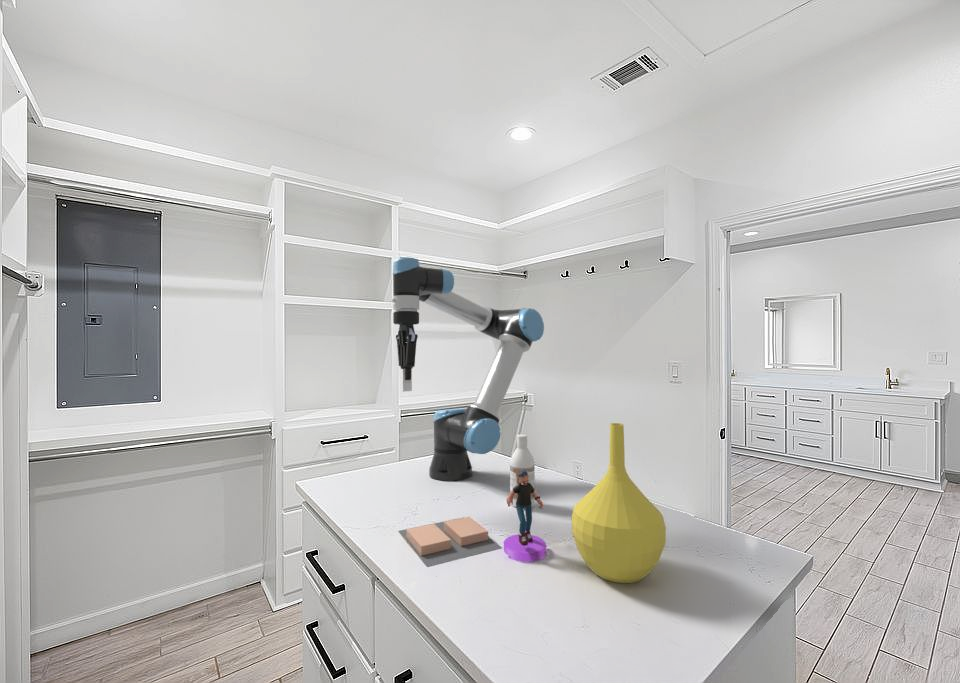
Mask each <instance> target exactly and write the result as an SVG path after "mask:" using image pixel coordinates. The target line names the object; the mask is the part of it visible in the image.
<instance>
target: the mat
mask: <svg viewBox="0 0 960 683" xmlns="http://www.w3.org/2000/svg"><path fill="white" fill-rule="evenodd" d="M460 518H461V517H459V518H457V519H460ZM462 518H465V516H463V517H462ZM455 519H456V518H454V519H453V518H452V520H455ZM450 520H451V519H449V520H448V521H450ZM445 521H446V520H445ZM445 521H444V520H443V521H439V522H434V523H433V524H435V525H436V526H437V527H438V528H439V529H440V530H441V531H442V532H443V533H444V534H445V535H446V536H447V537H449V538H450V539H451V549H448V550H443V551H439V552H435V553H431V554H427V555H422V556H421V555H420V554H419V552H418V551H417V550H416V549H415V548H414V546H413V545H412V544H411V543H410V542H409V540H408V539H407V530H406V529H407V528H405V529H400V530H398V531H397V532H398V533H399V534H400V536H401V537H402V538H403V540H405V541H406V543H407V544H408V545H409V547H410V548H411V549H412V551H413V552H414V553H415V554H416V555H417V556H418V558H419V559H420V560H421V562H422V563H423V564H424V565H425V566H426V567H427V568H429V567H433V566H437V565H442V564H445V563H449V562H453V561H457V560H461V559H466V558H469V557H473V556H476V555H481V554H484V553H488V552H492V551H496V550H500V549H503V547H502V546H500V544H498V543H497V542H495V541H494V540H493V539H492V538H490V537H489V536H488V540H485V541H481V542H477V543H473V544H468V545H464V546H460V545H459V544H458V543H457V542H456V541H455V540H454V539H453V538H452V537H451V536H450V535H449V534H447V533H446V532H445V531H444V522H445ZM431 524H432V523H430V524H428V525H431ZM426 525H427V524H424V525H423V526H426ZM421 526H422V525H420V526H418V527H421ZM416 527H417V526H415V527H413V528H416ZM411 528H412V527H411ZM411 528H409V529H411Z"/></svg>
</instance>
